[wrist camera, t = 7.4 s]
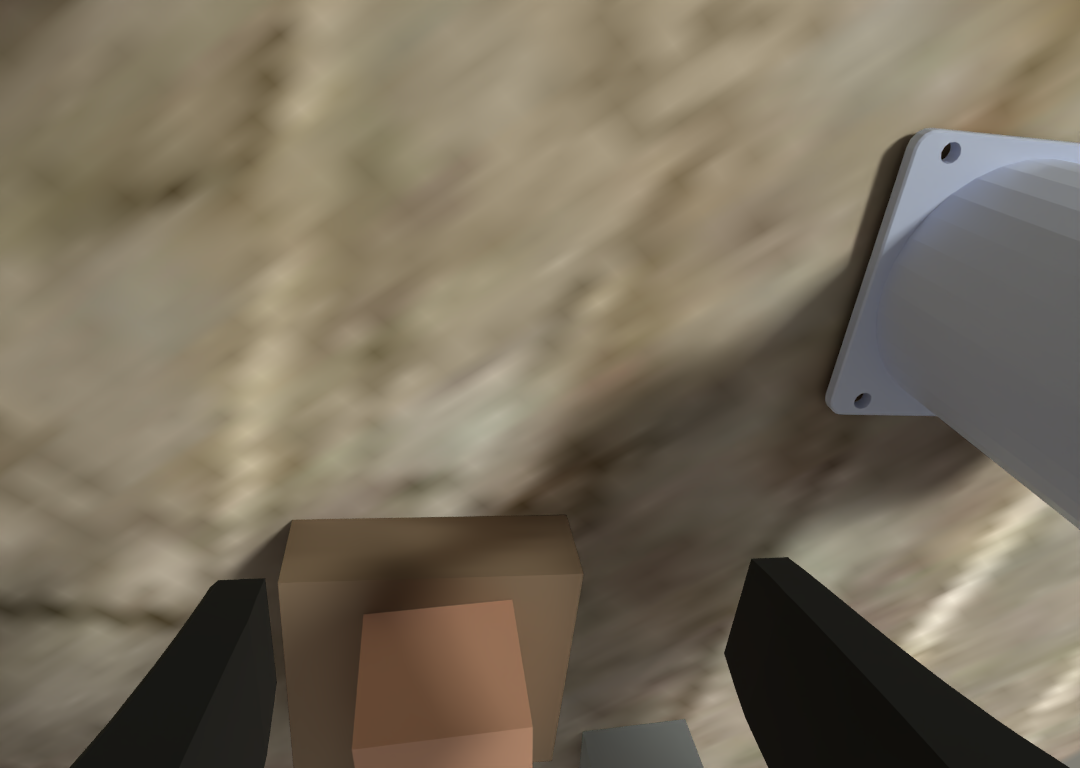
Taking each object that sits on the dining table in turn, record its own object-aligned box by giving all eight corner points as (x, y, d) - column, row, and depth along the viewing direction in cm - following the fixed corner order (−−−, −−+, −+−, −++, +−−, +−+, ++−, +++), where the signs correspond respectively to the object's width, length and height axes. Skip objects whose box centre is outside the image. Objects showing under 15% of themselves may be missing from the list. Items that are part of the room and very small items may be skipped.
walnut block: (563, 506, 22) (583, 573, 20) (537, 684, 26) (551, 760, 24) (294, 509, 21) (277, 583, 18) (307, 697, 25) (294, 780, 22)
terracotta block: (512, 599, 20) (532, 727, 16) (513, 742, 23) (530, 877, 19) (363, 614, 19) (351, 750, 16) (383, 759, 22) (377, 901, 19)
